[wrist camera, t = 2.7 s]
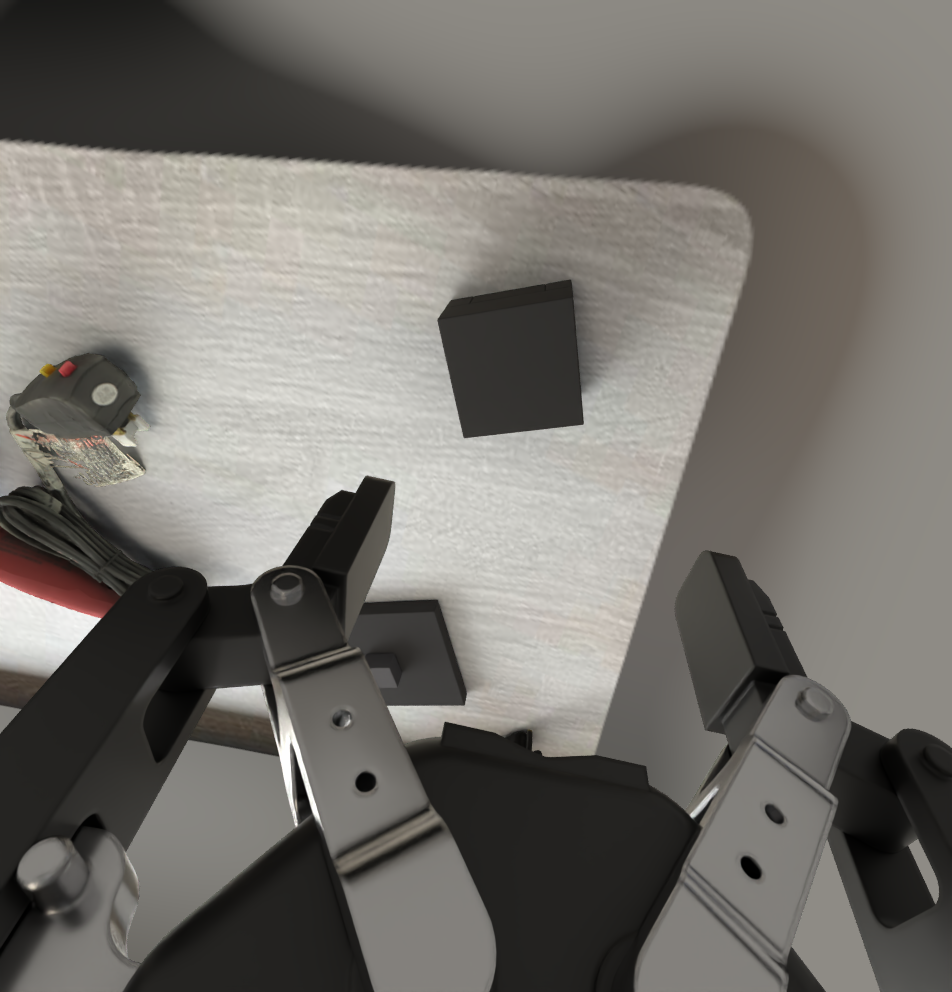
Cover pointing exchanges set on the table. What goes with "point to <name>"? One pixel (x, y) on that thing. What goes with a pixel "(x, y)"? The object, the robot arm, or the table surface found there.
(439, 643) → the base pad
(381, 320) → the table surface
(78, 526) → the hair dryer
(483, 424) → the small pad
